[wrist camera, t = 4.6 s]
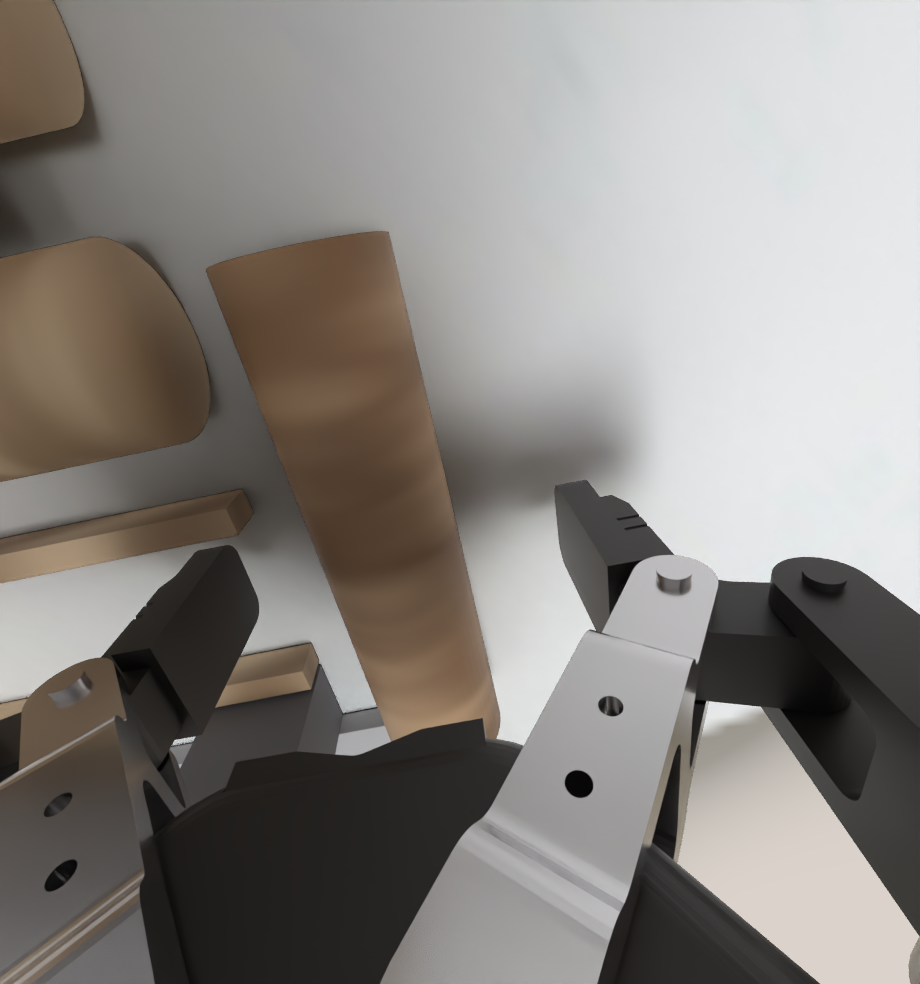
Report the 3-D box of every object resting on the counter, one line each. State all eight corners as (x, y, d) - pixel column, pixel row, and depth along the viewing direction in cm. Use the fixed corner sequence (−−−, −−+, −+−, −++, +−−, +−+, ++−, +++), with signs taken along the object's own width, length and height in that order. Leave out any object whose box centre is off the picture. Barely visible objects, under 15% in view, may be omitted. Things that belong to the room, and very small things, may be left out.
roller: (314, 257, 12) (171, 279, 9) (424, 225, 10) (278, 242, 7) (436, 665, 18) (369, 744, 15) (520, 700, 16) (458, 799, 13)
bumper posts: (377, 654, 16) (354, 827, 11) (409, 740, 18) (401, 921, 13) (-121, 750, 17) (-355, 955, 12) (-38, 824, 19) (-208, 1027, 14)
